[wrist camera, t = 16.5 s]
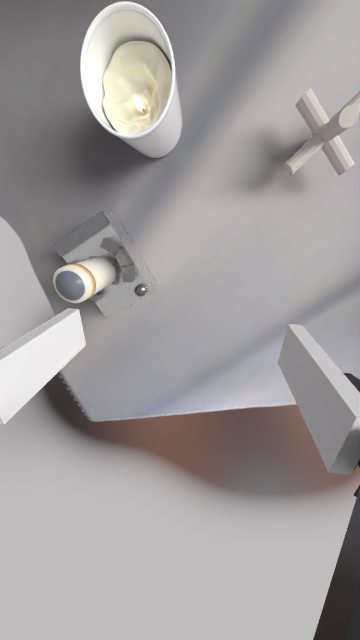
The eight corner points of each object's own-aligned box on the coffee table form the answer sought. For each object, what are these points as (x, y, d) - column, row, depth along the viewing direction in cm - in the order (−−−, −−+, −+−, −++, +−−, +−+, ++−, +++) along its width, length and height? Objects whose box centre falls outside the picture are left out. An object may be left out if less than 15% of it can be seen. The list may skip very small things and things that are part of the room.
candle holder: (123, 160, 35) (82, 132, 24) (124, 76, 30) (75, -4, 20) (182, 168, 34) (169, 143, 23) (192, 83, 30) (181, 4, 19)
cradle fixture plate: (72, 243, 41) (46, 247, 35) (115, 212, 38) (96, 210, 32) (116, 308, 46) (101, 322, 40) (158, 285, 43) (149, 296, 36)
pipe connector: (296, 203, 34) (326, 196, 25) (258, 147, 32) (276, 118, 23) (362, 146, 30) (426, 114, 21) (324, 79, 28) (377, 11, 19)
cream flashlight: (93, 283, 39) (55, 303, 30) (88, 254, 37) (47, 265, 27) (120, 285, 38) (91, 305, 29) (117, 255, 36) (84, 267, 27)
